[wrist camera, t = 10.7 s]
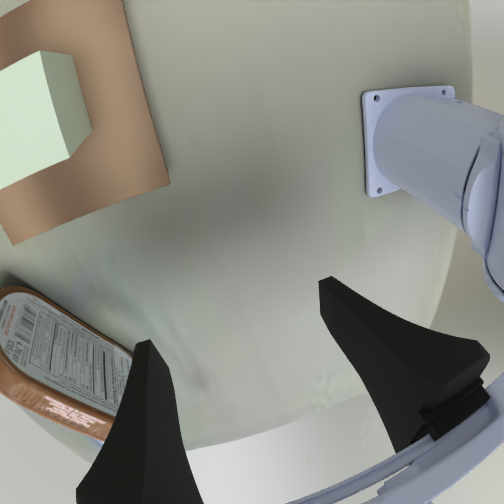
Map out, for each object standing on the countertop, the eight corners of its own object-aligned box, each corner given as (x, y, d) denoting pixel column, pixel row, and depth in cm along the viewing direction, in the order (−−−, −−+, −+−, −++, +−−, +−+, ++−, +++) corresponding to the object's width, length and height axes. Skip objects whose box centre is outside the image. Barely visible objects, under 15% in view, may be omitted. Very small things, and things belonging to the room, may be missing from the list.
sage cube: (72, 55, 11) (39, 50, 7) (92, 130, 13) (69, 157, 9) (2, 89, 10) (-50, 103, 6) (24, 160, 13) (-17, 198, 9)
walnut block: (118, -20, 11) (114, -34, 9) (166, 166, 18) (170, 184, 16) (-33, 55, 10) (-58, 57, 8) (26, 221, 17) (13, 245, 15)
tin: (-10, 284, 18) (-45, 373, 11) (6, 257, 17) (-34, 350, 11) (134, 374, 27) (144, 458, 20) (157, 358, 26) (171, 444, 19)
